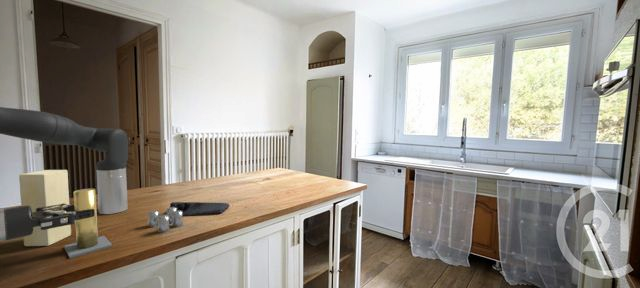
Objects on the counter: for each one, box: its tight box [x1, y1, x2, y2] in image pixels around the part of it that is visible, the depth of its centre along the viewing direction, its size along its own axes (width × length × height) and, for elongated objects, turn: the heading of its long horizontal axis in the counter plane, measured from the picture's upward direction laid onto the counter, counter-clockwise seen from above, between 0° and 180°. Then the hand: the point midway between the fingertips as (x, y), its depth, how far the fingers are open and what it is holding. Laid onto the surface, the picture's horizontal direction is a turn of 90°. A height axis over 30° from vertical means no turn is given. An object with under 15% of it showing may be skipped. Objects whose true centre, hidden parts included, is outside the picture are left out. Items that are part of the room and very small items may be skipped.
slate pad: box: [63, 235, 113, 259], centre depth 76 cm, size 9×9×1 cm
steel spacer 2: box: [157, 214, 170, 234], centre depth 87 cm, size 3×3×5 cm
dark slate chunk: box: [169, 201, 230, 217], centre depth 108 cm, size 15×22×5 cm
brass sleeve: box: [73, 188, 99, 249], centre depth 75 cm, size 5×5×16 cm
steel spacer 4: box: [171, 210, 184, 228], centre depth 92 cm, size 3×3×5 cm
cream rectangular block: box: [18, 169, 72, 247], centre depth 79 cm, size 8×7×21 cm
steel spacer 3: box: [166, 206, 177, 224], centre depth 95 cm, size 3×3×5 cm
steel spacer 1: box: [147, 210, 160, 228], centre depth 92 cm, size 3×3×5 cm
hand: (90, 209), depth 75 cm, fingers open, 8 cm apart
